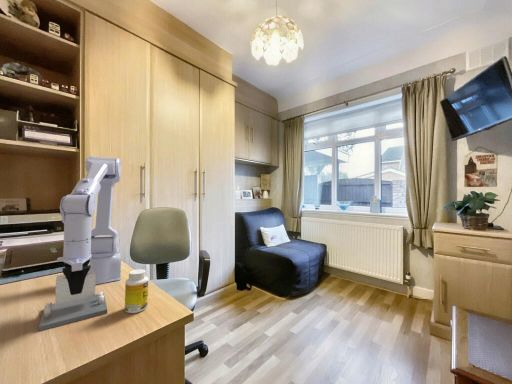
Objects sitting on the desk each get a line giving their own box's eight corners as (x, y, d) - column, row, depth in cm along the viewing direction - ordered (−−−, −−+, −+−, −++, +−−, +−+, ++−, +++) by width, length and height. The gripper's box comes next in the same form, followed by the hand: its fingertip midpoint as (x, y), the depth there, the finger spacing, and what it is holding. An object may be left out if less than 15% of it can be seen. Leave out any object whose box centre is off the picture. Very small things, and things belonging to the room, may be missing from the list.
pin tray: (103, 296, 68) (103, 286, 68) (107, 313, 59) (107, 301, 59) (45, 309, 60) (45, 297, 60) (38, 331, 51) (39, 317, 51)
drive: (94, 290, 63) (94, 269, 64) (94, 295, 60) (95, 273, 60) (56, 298, 58) (57, 275, 59) (55, 304, 55) (55, 280, 55)
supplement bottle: (145, 313, 59) (146, 274, 59) (121, 315, 58) (122, 275, 58) (149, 302, 65) (150, 267, 65) (128, 304, 63) (129, 268, 63)
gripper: (59, 236, 63) (58, 285, 63) (55, 246, 51) (53, 306, 51) (90, 234, 67) (89, 279, 67) (93, 243, 56) (91, 297, 56)
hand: (76, 290), depth 59 cm, fingers closed on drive, 4 cm apart
